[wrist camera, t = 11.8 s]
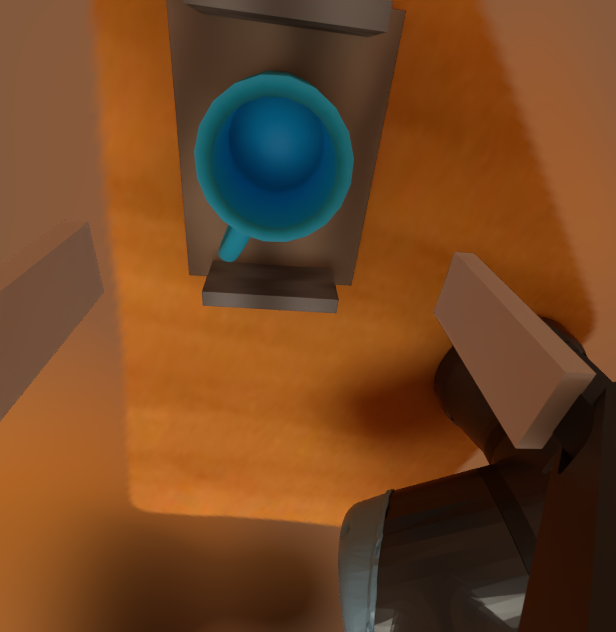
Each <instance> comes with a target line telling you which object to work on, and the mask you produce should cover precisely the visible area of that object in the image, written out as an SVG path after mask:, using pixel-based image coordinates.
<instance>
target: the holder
mask: <svg viewBox="0 0 616 632" xmlns="http://www.w3.org/2000/svg"><path fill="white" fill-rule="evenodd" d="M166 1H167V13H168V25H169V37H170V49H171V61H172V73H173V85H174V97H175V109H176V121H177V133H178V145H179V157H180V169H181V181H182V193H183V205H184V217H185V229H186V241H187V253H188V265H189V275H198V276H207V278H206V281H205V284H204V287H203V290H202V301H203V306H220V307H238V308H255V309H272V310H290V311H307V312H324V313H336V312H337V307H338V301H339V299H338V295H337V291H336V286H335V285H349V286H351V284H352V279H353V274H354V269H355V264H356V259H357V254H358V249H359V244H360V239H361V234H362V229H363V224H364V219H365V214H366V209H367V204H368V199H369V194H370V189H371V184H372V179H373V174H374V169H375V164H376V159H377V153H378V148H379V143H380V138H381V133H382V128H383V123H384V118H385V113H386V108H387V103H388V98H389V93H390V88H391V83H392V78H393V73H394V68H395V63H396V58H397V53H398V48H399V43H400V38H401V33H402V28H403V23H404V18H405V12H406V11H404V10H398V9H392V3H393V1H388V0H166ZM265 71H282V72H289V73H291V74H294V75H296V76H298V77H300V78H302V79H305V80H307V81H308V82H309V83H310V84H311V85H313V86H314V87H315V88H316V89H317V90H318V91H319V92H320V93H321V94H322V95H323V96H324V97H325V98H326V99H328V100H329V101H330V102H331V103H332V104H333V105H334V106H335V107H336V108H337V110H338V112H339V114H340V116H341V118H342V120H343V122H344V124H345V126H346V128H347V129H348V131H349V135H350V140H351V146H352V151H353V157H354V162H353V171H352V179H351V185H350V188H349V190H348V192H347V194H346V197H345V199H344V201H343V204H342V206H341V207H340V209H339V210H338V211H337V212H336V213H335V214H334V216H333V217H332V218H331V219H330V220H329V221H328V223H327V224H326V225H324V226H323V227H321V228H319V229H318V230H316V231H315V232H313V233H311V234H310V235H308V236H306V237H302V238H299V239H295V240H291V241H288V242H269V241H261V240H258V239H255V238H252V237H250V239H249V241H248V242H247V244H246V246H245V247H244V249H243V251H242V252H241V254H240V255H239V256H238V258H237V259H236V260H234V261H232V262H226V261H223V260H222V259H221V258H220V257H219V256H218V250H219V247H220V244H221V241H222V239H223V236H224V234H225V232H226V229H227V227H228V224H227V223H225V222H224V221H222V219H221V218H220V217H219V216H218V214H217V213H216V212H215V211H214V210H213V208H212V207H211V206H210V205H209V203H208V202H207V200H206V198H205V196H204V193H203V191H202V189H201V186H200V184H199V182H198V179H197V174H196V165H195V156H194V149H195V144H196V139H197V134H198V129H199V124H200V123H201V121H202V119H203V117H204V116H205V114H206V112H207V111H208V109H209V107H210V106H211V104H212V102H213V101H214V100H215V99H216V98H217V97H218V96H220V95H221V94H222V93H223V92H225V91H226V90H227V89H228V88H229V87H231V86H232V85H233V84H234V83H236V82H238V81H240V80H243V79H245V78H247V77H249V76H252V75H255V74H258V73H262V72H265Z"/></svg>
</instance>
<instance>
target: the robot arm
mask: <svg viewBox="0 0 616 632" xmlns="http://www.w3.org/2000/svg"><path fill="white" fill-rule="evenodd" d="M103 293H104V289H103V284H102V280H101V276H100V272H99V267H98V263H97V259H96V254H95V250H94V245H93V241H92V237H91V232H90V228H89V224H88V222H80V221H68V220H64V221H63V222H61V223H60V224H58V225H57V226H55V227H54V228H52V229H51V230H50V231H48V232H47V233H45V234H44V235H42V236H41V237H39V238H38V239H37V240H35V241H34V242H32V243H31V244H29V245H28V246H27V247H25V248H24V249H22V250H21V251H19V252H18V253H16V254H15V255H14V256H12V257H11V258H9V259H8V260H6V261H5V262H3V263H2V264H1V265H0V421H1V420H2V418H3V417H4V416H5V415H6V414H7V412H8V411H9V410H10V409H11V407H12V406H13V405H14V404H15V402H16V401H17V400H18V399H19V397H20V396H21V395H22V394H23V392H24V391H25V390H26V389H27V387H28V386H29V385H30V384H31V382H32V381H33V380H34V379H35V377H36V376H37V375H38V374H39V373H40V371H41V370H42V369H43V367H44V366H45V365H46V364H47V363H48V361H49V360H50V359H51V358H52V356H53V355H54V353H56V351H57V350H58V349H59V348H60V346H61V345H62V344H63V343H64V341H65V340H66V339H67V338H68V336H69V335H70V334H71V332H72V331H73V330H74V329H75V328H76V326H77V325H78V324H79V323H80V321H81V320H82V319H83V318H84V317H85V315H86V314H87V313H88V312H89V310H90V309H91V308H92V307H93V305H94V304H95V303H96V301H97V300H98V299H99V297H101V295H102V294H103ZM434 314H435V316H436V318H437V319H438V321H439V323H440V324H441V326H442V328H443V329H444V331H445V333H446V334H447V336H448V338H449V339H450V341H451V342H452V344H453V346H454V347H453V348H452V349H451V350H450V352H449V353H448V354H447V355H446V356H445V358H444V359H443V361H442V362H441V364H440V366H439V368H438V371H437V373H436V377H435V392H436V395H437V397H438V399H439V402H440V404H441V406H442V408H443V410H444V412H445V413H446V415H447V416H448V417H449V418H450V420H452V421H453V422H454V423H455V424H456V425H457V426H459V427H461V429H462V430H463V431H464V432H465V433H466V434H467V435H468V436H469V437H470V438H471V440H472V441H473V442H474V443H475V444H476V445H477V446H478V447H479V448H480V449H481V450H482V451H483V453H484V455H485V456H486V458H487V460H488V462H489V464H490V465H488V466H484V467H480V468H476V469H472V470H468V471H465V472H461V473H457V474H453V475H450V476H446V477H442V478H439V479H435V480H431V481H428V482H424V483H420V484H417V485H413V486H409V487H406V488H402V489H398V490H394V489H393V490H392V489H391V490H387V491H386V493H385V494H382V495H379V496H376V497H373V498H370V499H367V500H364V501H361V502H358V503H356V504H355V505H353V506H352V507H351V508H350V509H349V510H348V512H347V513H346V515H345V517H344V520H343V523H342V527H341V531H340V539H339V551H338V576H339V593H340V603H341V611H342V618H343V624H344V630H345V632H616V382H612V381H611V380H610V379H609V378H608V377H607V376H606V375H605V374H604V373H603V372H602V371H601V370H599V368H598V367H596V366H595V365H594V364H593V363H592V362H591V361H590V360H589V359H588V357H587V355H586V352H585V350H584V348H583V346H582V345H581V344H580V342H579V341H578V340H577V339H576V338H575V337H574V336H573V335H572V334H571V333H570V332H569V331H568V330H567V329H565V328H564V327H563V326H562V325H560V324H559V323H557V322H555V321H553V320H550V319H547V318H542V317H538V316H537V315H536V314H535V313H534V312H533V311H532V310H531V309H530V308H529V307H528V306H527V305H526V304H525V303H524V302H523V301H522V300H521V299H520V298H519V297H518V296H517V295H516V294H515V293H514V292H513V291H512V290H511V289H510V288H509V287H508V286H507V285H506V284H505V283H504V282H503V281H502V280H501V279H500V278H499V277H498V276H497V275H496V274H495V273H494V272H493V271H492V270H491V269H490V268H489V267H488V266H487V265H485V264H484V263H483V262H482V261H481V260H480V259H479V258H478V257H477V256H476V255H475V254H474V253H464V252H455V253H454V256H453V259H452V261H451V264H450V267H449V270H448V273H447V276H446V278H445V281H444V284H443V287H442V290H441V293H440V295H439V298H438V301H437V304H436V307H435V310H434Z"/></svg>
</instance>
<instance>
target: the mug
mask: <svg viewBox="0 0 616 632" xmlns="http://www.w3.org/2000/svg"><path fill="white" fill-rule="evenodd" d="M194 156H195V165H196V174H197V179H198V182H199V184H200V186H201V189H202V191H203V193H204V196H205V198H206V200H207V202H208V203H209V205H210V206H211V207H212V208H213V210H214V211H215V212H216V213H217V214H218V216H219V217H220V218H221V219H222V221H224V222H225V223H227V224H228V227H227V229H226V232H225V234H224V236H223V239H222V241H221V244H220V247H219V250H218V256H219V257H220V258H221V259H222V260H223V261H226V262H232V261H234V260H236V259H237V258H238V256H239V255H240V254H241V252H242V251H243V249H244V247H245V246H246V244H247V242H248V241H249V239H250V237H252V238H255V239H258V240H261V241H269V242H288V241H291V240H295V239H299V238H302V237H306V236H308V235H310V234H311V233H313V232H315V231H316V230H318V229H319V228H321V227H323V226H324V225H326V224H327V223H328V221H329V220H330V219H331V218H332V217H333V216H334V214H335V213H336V212H337V211H338V210H339V209H340V207H341V206H342V204H343V201H344V199H345V197H346V194H347V192H348V190H349V188H350V185H351V179H352V171H353V162H354V157H353V151H352V146H351V140H350V135H349V131H348V129H347V128H346V126H345V124H344V122H343V120H342V118H341V116H340V114H339V112H338V110H337V108H336V107H335V106H334V105H333V104H332V103H331V102H330V101H329V100H328V99H326V98H325V97H324V96H323V95H322V94H321V93H320V92H319V91H318V90H317V89H316V88H315V87H314V86H313V85H311V84H310V83H309V82H308V81H307V80H305V79H302V78H300V77H298V76H296V75H294V74H291V73H289V72H282V71H265V72H262V73H258V74H255V75H252V76H249V77H247V78H245V79H243V80H240V81H238V82H236V83H234V84H233V85H232V86H231V87H229V88H228V89H227V90H226V91H225V92H223V93H222V94H221V95H220V96H218V97H217V98H216V99H215V100H214V101H213V102H212V104H211V106H210V107H209V109H208V111H207V112H206V114H205V116H204V117H203V119H202V121H201V123H200V124H199V129H198V134H197V139H196V144H195V149H194Z"/></svg>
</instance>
